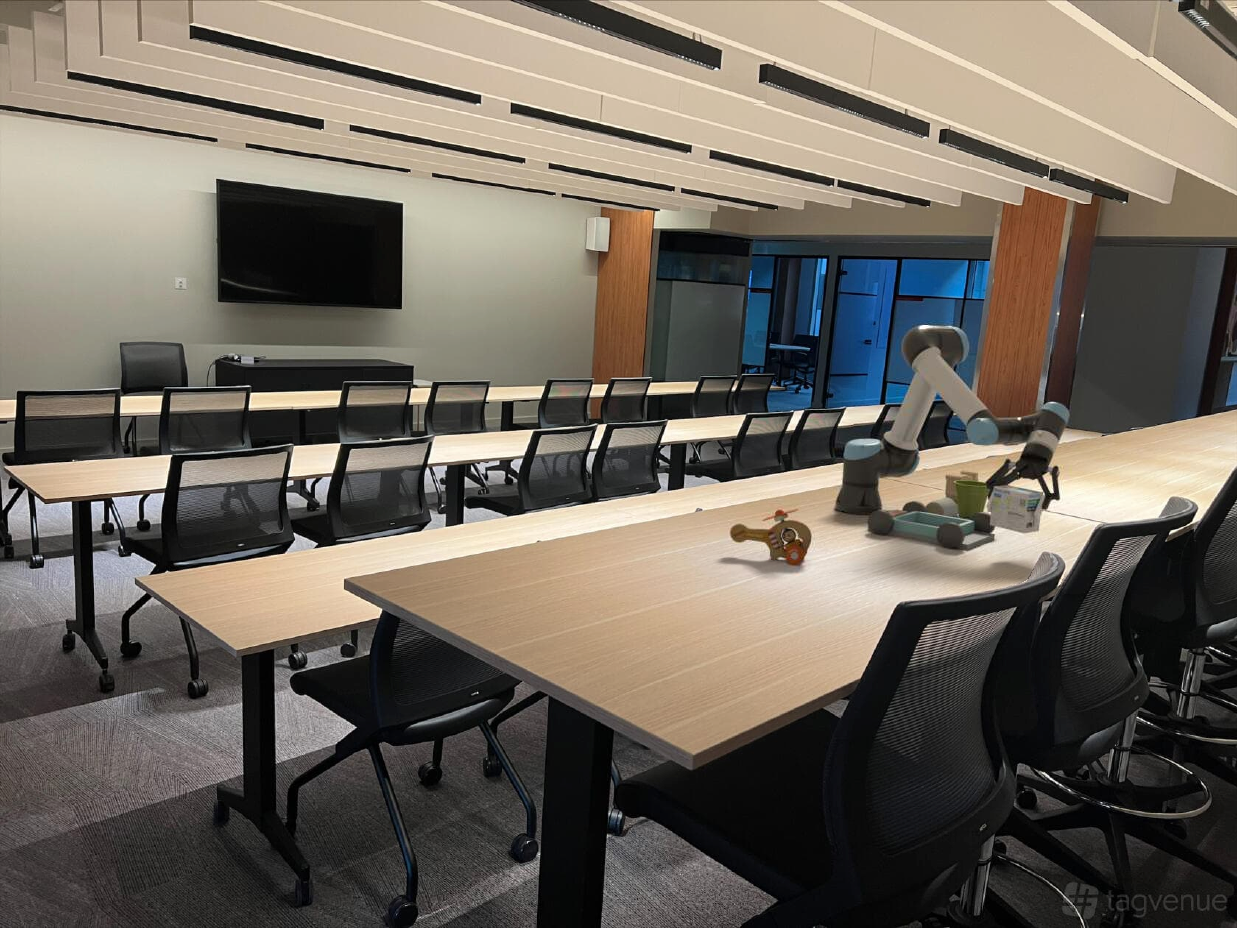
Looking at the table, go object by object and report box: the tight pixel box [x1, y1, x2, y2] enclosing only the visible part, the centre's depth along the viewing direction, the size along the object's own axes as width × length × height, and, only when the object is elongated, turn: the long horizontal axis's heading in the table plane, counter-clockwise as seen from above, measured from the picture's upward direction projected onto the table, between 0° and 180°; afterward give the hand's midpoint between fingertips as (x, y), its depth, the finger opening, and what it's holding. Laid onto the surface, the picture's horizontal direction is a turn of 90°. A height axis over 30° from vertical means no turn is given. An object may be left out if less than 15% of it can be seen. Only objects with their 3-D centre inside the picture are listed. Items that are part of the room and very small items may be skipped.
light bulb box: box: [990, 484, 1044, 534], centre depth 242 cm, size 11×7×11 cm, turn 33°
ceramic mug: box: [925, 497, 960, 518], centre depth 285 cm, size 11×8×8 cm
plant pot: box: [954, 480, 990, 519], centre depth 297 cm, size 12×12×11 cm
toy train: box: [944, 470, 979, 503], centre depth 326 cm, size 6×17×10 cm, turn 136°
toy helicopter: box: [729, 509, 812, 566], centre depth 234 cm, size 8×21×14 cm, turn 72°
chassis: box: [867, 500, 996, 551], centre depth 268 cm, size 30×25×7 cm
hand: (1012, 513), depth 240 cm, fingers closed on light bulb box, 12 cm apart
